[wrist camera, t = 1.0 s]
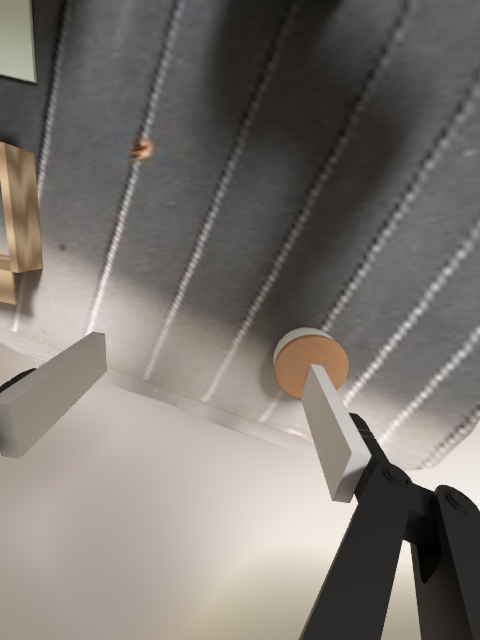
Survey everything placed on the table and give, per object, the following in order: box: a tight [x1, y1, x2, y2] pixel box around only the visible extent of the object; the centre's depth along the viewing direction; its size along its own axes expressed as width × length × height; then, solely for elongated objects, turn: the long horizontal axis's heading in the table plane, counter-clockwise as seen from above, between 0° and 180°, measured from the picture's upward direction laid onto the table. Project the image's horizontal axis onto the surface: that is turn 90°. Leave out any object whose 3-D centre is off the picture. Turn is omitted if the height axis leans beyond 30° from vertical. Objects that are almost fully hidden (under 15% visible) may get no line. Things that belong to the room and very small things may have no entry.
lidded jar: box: [274, 327, 349, 400], centre depth 39 cm, size 11×11×9 cm
